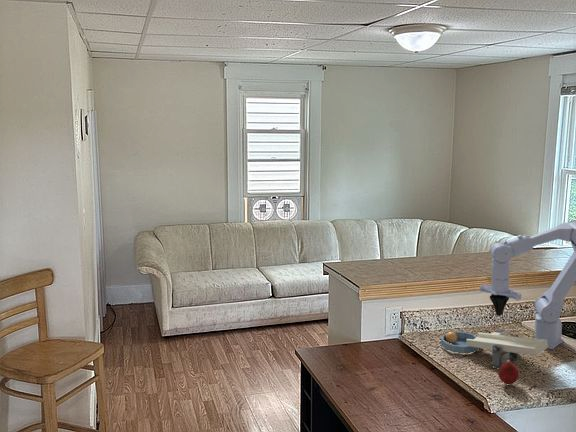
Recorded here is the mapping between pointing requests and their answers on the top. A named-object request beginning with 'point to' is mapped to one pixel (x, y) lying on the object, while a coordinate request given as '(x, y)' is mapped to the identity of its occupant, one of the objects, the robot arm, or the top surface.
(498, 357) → the stand
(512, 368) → the onion
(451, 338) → the ball
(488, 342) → the lever
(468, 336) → the blue bowl
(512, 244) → the robot arm
